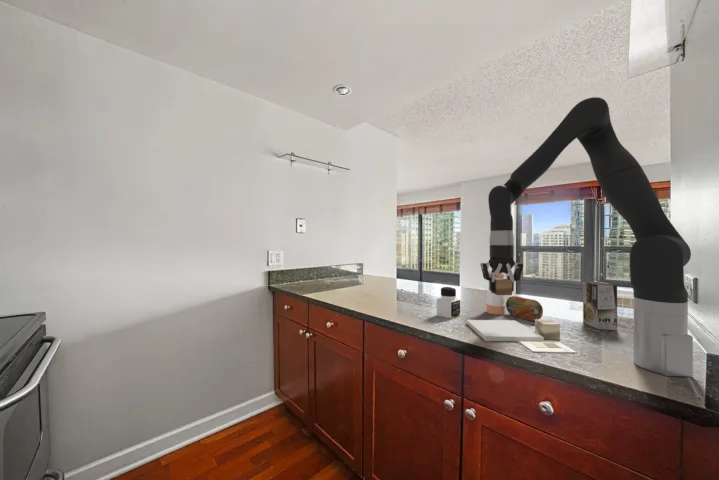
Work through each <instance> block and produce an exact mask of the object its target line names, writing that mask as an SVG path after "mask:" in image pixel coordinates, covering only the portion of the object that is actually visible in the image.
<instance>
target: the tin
mask: <svg viewBox="0 0 719 480" xmlns="http://www.w3.org/2000/svg"><path fill="white" fill-rule="evenodd" d="M505 309H506V310H507V313H509V315H511V316H512V317H515V318H519V319H522V320H526V321H529V322H535V320H541V319H542V317H543V315H544V314H543V313H544V309H543V306H542V303H540V301H538V300H536V299H533V298H532V299H531V298H527V297H521V296H513V295H511V296H509V297H508V298H507V300H506V302H505Z"/></svg>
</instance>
